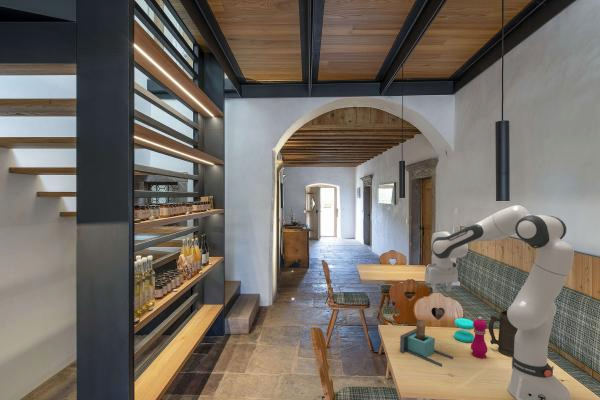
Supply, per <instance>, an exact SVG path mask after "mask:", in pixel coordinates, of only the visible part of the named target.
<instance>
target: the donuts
mask: <svg viewBox="0 0 600 400" xmlns="http://www.w3.org/2000/svg"><path fill="white" fill-rule="evenodd" d="M473 322H474V321H473V320H471V319H468V318H464V317H460V318H457V319H455V320H454V324H455V326H456V327H458V328H459V329H462V330H457V331H455V332H454V333H453V336H454V338H455V339H456V340H458V341H459V342H463V343H472V342H473V340H474V337H475V334H473V333H472V332H470V330H474V326H473ZM468 330H469V331H468Z"/></svg>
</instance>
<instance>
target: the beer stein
mask: <svg viewBox="0 0 600 400" xmlns="http://www.w3.org/2000/svg"><path fill="white" fill-rule="evenodd" d="M507 311H508V310H501V312H499V313H500V314H499V317H498V316H497V315H494V314H492V315H490V320H489V323H488V324H487V329H488V332H489V335H490V338H491V339H490V344H491V345H497V346H498V347H497V351H498V352H499V353H501V354H502V355H503V356H507V357H510V358H513V355H514V339H515V335H516V333H517V330H518V328H516V327H514V326H513V325H512V324H511V323H510V322H509V320H508V317H507ZM495 322H499V325H498V326H499V328H498V339H496V336H495V331H494V323H495Z"/></svg>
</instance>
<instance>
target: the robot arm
mask: <svg viewBox="0 0 600 400" xmlns="http://www.w3.org/2000/svg"><path fill="white" fill-rule="evenodd" d="M515 234H516V236H517V237H518V238H519V239H520V240H521V241H522V242H525V243H527V244H528V245H529V246H530V247H531V248H532V249H533V248H534V249H537V254H536V257H535V260H534V262H533V263H532V264H533V265H532V267H531V269H530V271H529V274H528V277H527V278H526V280H525V282H524V284H523V286H522V287H521V288H520V290H519V291H518V293H517V295H516V296H515V298H514V300H513V302H512V303H511V305H510V306H509V307H508V308H507V310H506V311H507V317H508V320H509V322H510V323H511V324H512V325H513V326H514V327H516V328H518V330H517V333H516V335H515V339H514V355H513V357H511V368H512V370H511V377H510V381H509V383H508V387H507V390H508V392H509V394H510V395H511V396H512V397H514V398H515V400H572V398H571V394H570V390H569V388H568V387H567V386H566V385H564V384H563V383H562V382H561V381H560V380H559V379H558V378H557V377H556V376H555V375H554V369H555V368H554V365H552V366H551V365H550V364H549V362H548V350H549V341H550V337H551V333H552V329H553V324H554V318H555V315H556V313H557V305H556V303H555V300H556V299H557V297H558V296H559V295H560V294H561V291H562V289H563V287H564V285H565V283H566V280H567V278H568V276H569V273H570V271H571V269H572V265H573V262H574V257H575V250H574V247H573V246H572V245H571V244H570V243H568V242H566V241H564V240H562V239H564V237H565V236H566V234H567V226H566V223H565V222H564V221H563V220H562V219H560V218H559V217H556V216H553V215H546V214H545V215H544V214H535V215H532V214H531V213H530V211H529V210H528V209H527V208H526V207H524V206H522V205H519V204H516V205H511V206H509V207H506V208H503V209H501V210H499V211H498V210H497V212H495V213H492V214H491V215H489V216H488V217H485V218H483V219H482V220H480V221H478V222H476V223H473V224H472V225H470V226H467V227H465V228H463V229H461V230H459V231H456V232H454V233H452V234H451V233H450V232H449V231H447V230H441V231H440V230H439V231H435V232H433V233H432V236H431V241H430V243H431V245H430V247H431V252H432V253H431V263H428V264H427V265H426V267H425V272H424V282H425V283H426V284H430V287H431V288H432V293H438V288H437V287H436V286H437V284H446V285H447V286H446V287H445V292H446V293H447V292H448V293H451V291H452V286H453V283H458V281H459V274H458V273H459V272H458V263H457V262H455V261H453V260H452V259H460V258H464V257H466V256H467V255H468V253H469V250H470V248H469V244H470V243H474V242H495V241H500V240H504V239H507V238H509V237H511V236H514V235H515Z"/></svg>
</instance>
